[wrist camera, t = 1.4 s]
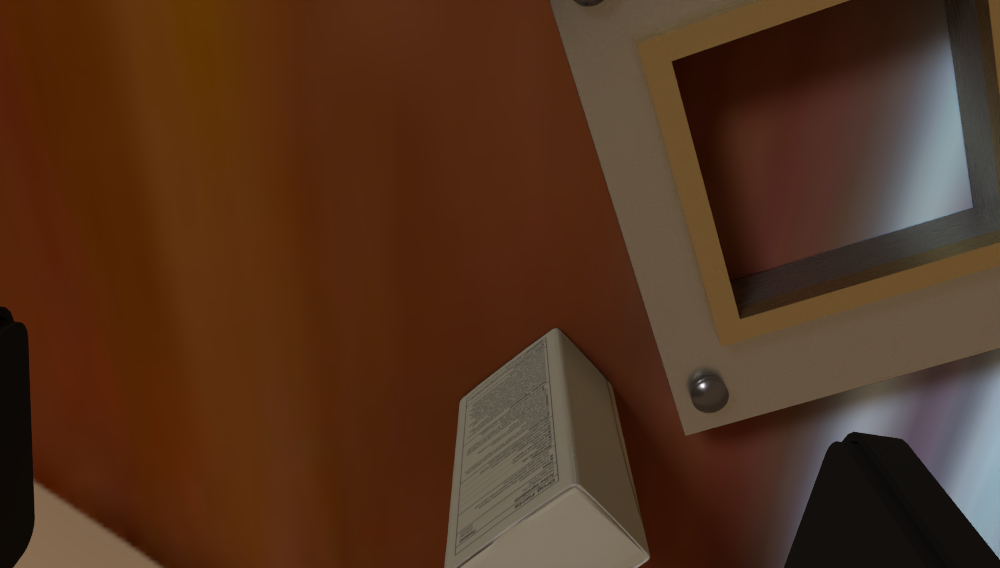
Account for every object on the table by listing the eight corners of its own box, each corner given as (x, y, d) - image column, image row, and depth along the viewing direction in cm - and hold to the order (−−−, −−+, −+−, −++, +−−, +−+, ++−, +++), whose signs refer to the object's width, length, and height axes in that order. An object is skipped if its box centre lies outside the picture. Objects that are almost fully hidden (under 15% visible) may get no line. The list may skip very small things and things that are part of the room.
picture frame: (1017, -246, 31) (1076, -262, 28) (1068, 294, 39) (1118, 329, 36) (529, -64, 33) (531, -59, 30) (675, 405, 42) (689, 448, 39)
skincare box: (516, 455, 43) (519, 651, 32) (455, 396, 42) (435, 580, 31) (617, 382, 41) (657, 563, 30) (557, 318, 40) (575, 483, 29)
